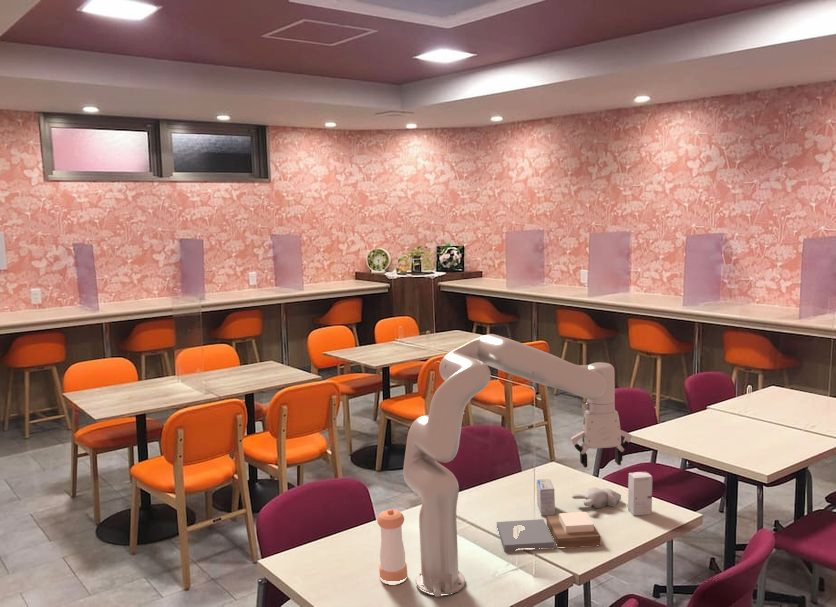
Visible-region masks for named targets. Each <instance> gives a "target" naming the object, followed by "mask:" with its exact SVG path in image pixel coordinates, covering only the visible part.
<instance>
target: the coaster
mask: <svg viewBox="0 0 836 607" xmlns="http://www.w3.org/2000/svg"><path fill="white" fill-rule="evenodd" d="M558 515H559V521H560V523H561V525H562V526H563V528H564V530H565V532H566V533H570V532H586V531H594V526H595V525H594V523H593V521H592V519H591V518H590V516H589V514H588V513H587V512H586V511H577V512H561V513H558Z"/></svg>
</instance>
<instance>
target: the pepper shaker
mask: <svg viewBox="0 0 836 607" xmlns="http://www.w3.org/2000/svg"><path fill="white" fill-rule="evenodd" d="M404 522H405V516H404V514H403V513H402V512H401V511H400V510H396V509H392V508H388V509H387V510H382V511H381V512H379V514H378V516H377V519H376V523H377V525H378V526H379V527H380V548H379V560H380V561H379V562H380V564H379V566H378V567H379V570H378V571H379V578H380V577H381V578H382V579H383V580H386V581H400V580H403V579H405V578H406V577H407V578H408V564H407V562H406V551H405V547H404V541H403V532H402V531H403V529H402V528H403V527H402V526H403V524H404Z"/></svg>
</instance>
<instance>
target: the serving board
mask: <svg viewBox="0 0 836 607" xmlns="http://www.w3.org/2000/svg"><path fill="white" fill-rule="evenodd" d="M546 526H547V528H549V529H548V530H550V531H549V532H551V533H550V534H552V535H551V536H553V537H552V538H554V539H553V540H555V541H554V543H555V542H556V543H555V545H556V544H557V546H556V547H575V548H582V547H581V546H591V547H601V535H600V533H599V531H598V529H597V528H596V526H595V525H594V531H586V532H570V533H566V532H565V530H564V528H563V526H562V525H561V523H560V521H559V514H557V515H556V514H555V515H548V516H546ZM597 545H599V546H597Z"/></svg>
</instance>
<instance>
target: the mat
mask: <svg viewBox="0 0 836 607" xmlns="http://www.w3.org/2000/svg"><path fill="white" fill-rule="evenodd" d="M517 525H522V526H524V527H525V530H523V531H520V533H519V536H518V538H517V539H515V538H514V537H513V528H514V526H517ZM497 528H498V530H497V532H498V531H499V534H498V536H499V535H500V537H499V538H500V539H501V540H500V542H501V545H502V548H503V552H504V553H507V552H508V553H510V552H516V551H515V550H516V549H518V548H535V549H539V548H540V549H541V548H554V549H555V541H554V539H553V537H552V535H551V533H550V531H549V529H548V527H547V523H546V522H545V520H544V519H524V520H523V519H522V520H510V521H509V520H507V521H497V522H496V529H497Z"/></svg>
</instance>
